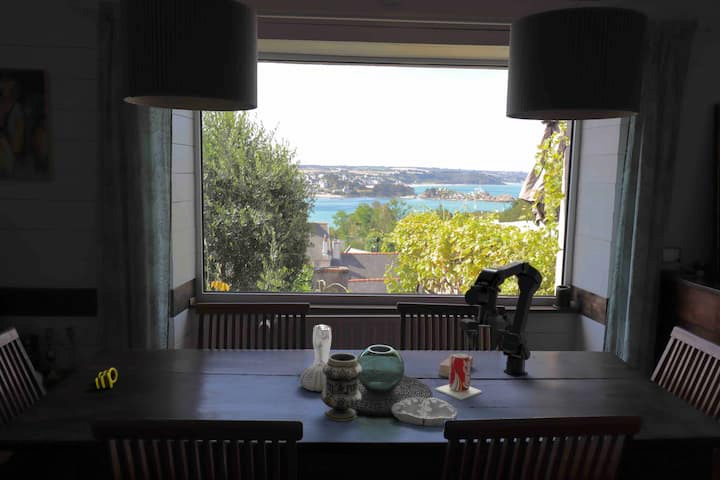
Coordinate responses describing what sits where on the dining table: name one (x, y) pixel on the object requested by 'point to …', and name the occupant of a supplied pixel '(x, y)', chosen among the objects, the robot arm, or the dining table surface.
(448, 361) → the brick
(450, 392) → the pad
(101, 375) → the yellow coil spring
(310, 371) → the sea urchin shell
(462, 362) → the soda can
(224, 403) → the dining table surface
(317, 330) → the beer glass
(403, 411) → the brain slice
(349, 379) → the apothecary jar
